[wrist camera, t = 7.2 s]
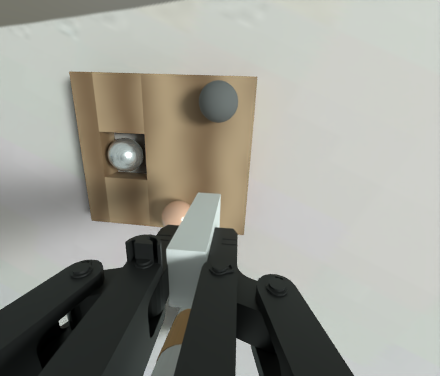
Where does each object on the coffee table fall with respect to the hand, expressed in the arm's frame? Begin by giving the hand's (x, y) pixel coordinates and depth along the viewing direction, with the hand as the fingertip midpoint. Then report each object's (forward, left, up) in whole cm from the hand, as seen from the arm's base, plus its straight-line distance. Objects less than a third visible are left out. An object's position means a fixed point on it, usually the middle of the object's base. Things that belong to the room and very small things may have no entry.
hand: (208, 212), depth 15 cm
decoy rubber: (0, +7, -6) cm, 9 cm away
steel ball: (-10, +2, -8) cm, 13 cm away
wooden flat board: (-6, +2, -10) cm, 12 cm away
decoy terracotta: (-4, -3, -6) cm, 8 cm away
